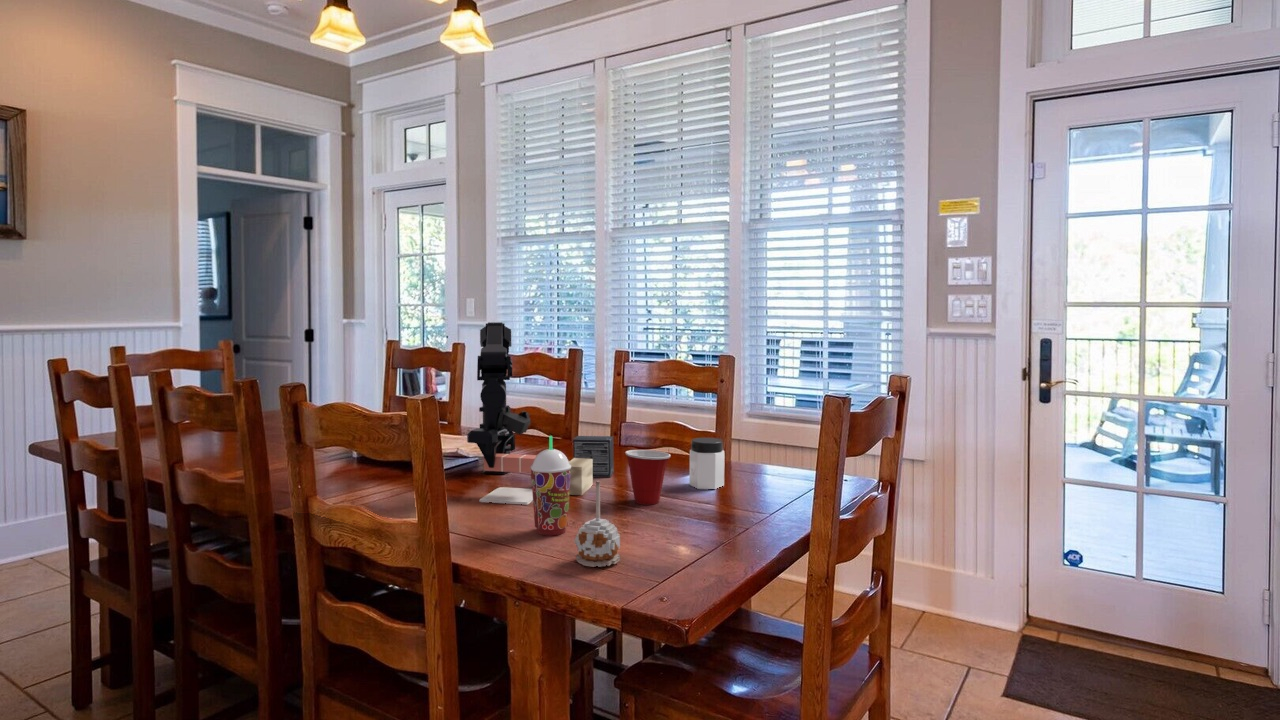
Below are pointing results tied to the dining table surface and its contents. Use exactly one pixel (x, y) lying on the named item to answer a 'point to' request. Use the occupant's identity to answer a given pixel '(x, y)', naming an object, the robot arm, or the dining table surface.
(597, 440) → the small box
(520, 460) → the pink striped block
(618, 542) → the caramel apple
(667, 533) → the dining table surface
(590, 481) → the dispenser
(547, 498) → the smoothie
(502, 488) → the tile
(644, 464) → the plastic cup
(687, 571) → the dining table surface
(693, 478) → the jar
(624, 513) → the dining table surface
